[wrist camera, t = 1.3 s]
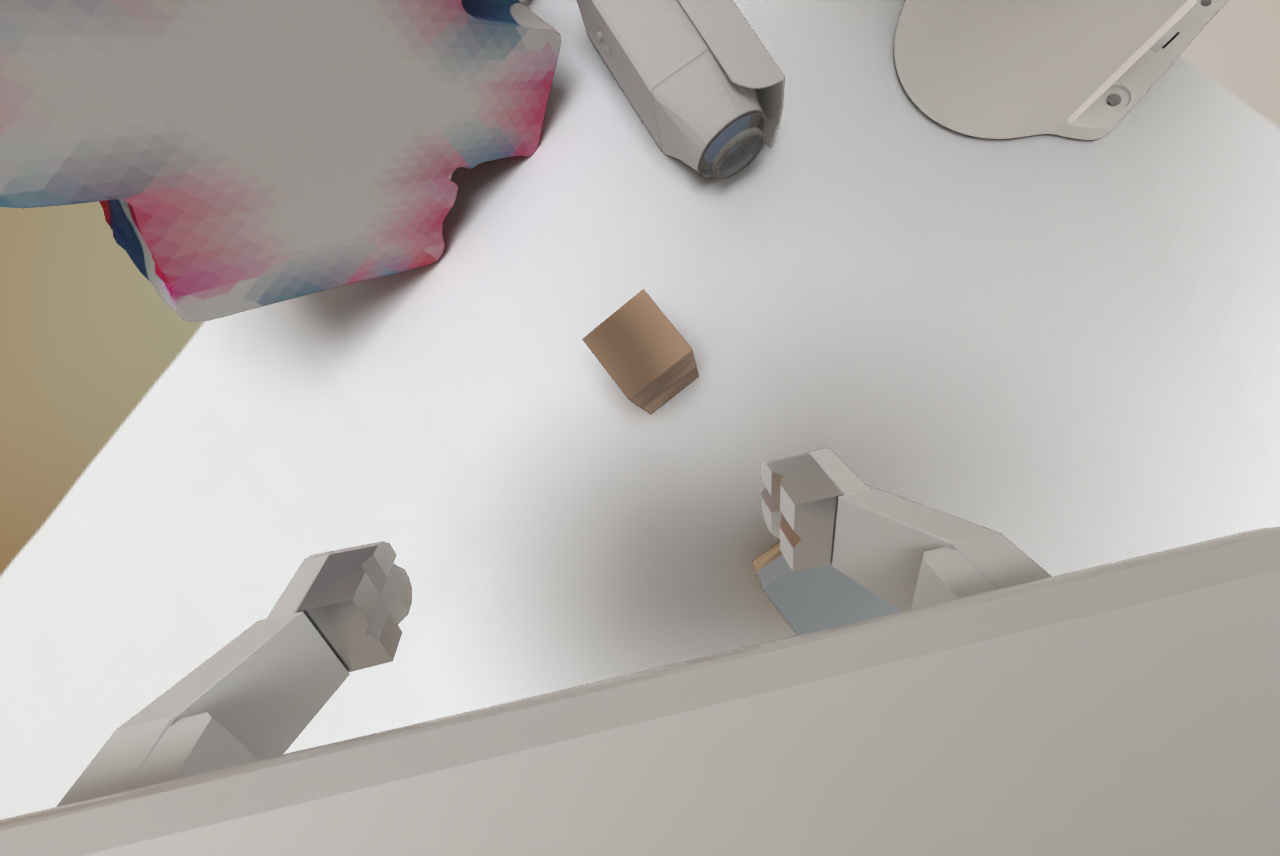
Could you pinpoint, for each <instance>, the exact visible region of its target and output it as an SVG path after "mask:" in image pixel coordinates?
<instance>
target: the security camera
mask: <svg viewBox="0 0 1280 856" xmlns="http://www.w3.org/2000/svg"><path fill="white" fill-rule="evenodd" d="M577 2H578V6H579V9H580V12H581V15H582V18H583V21H584V25H585V28H586V31H587V34H588V36H589V38H590V39H591V41H592V43H593V44H594V46H595V47H596V49H597V50H598V52H599V54H600V55H601V57H602V58H603V60H604V61H605V63H606V65H607V66H608V68H609V69H610V71H611V73H612V74H613V76H614V77H615V79H616V80H617V82H618V84H619V85H620V87H621V88H622V90H623V91H624V93H625V95H626V96H627V98H628V99H629V101H630V102H631V104H632V106H633V107H634V109H635V110H636V112H637V114H638V115H639V117H640V118H641V120H642V121H643V123H644V125H645V126H646V128H647V129H648V131H649V132H650V134H651V136H652V137H653V139H654V140H655V142H656V144H657V145H658V147H659V148H660V150H661V151H663V153H664V154H666V155H669V156H672V157H674V158H677V159H679V160H681V161H682V162H684V163H685V164H687V165H688V166H690V167H691V168H693V169H694V170H696V171H697V172H698V173H699V174H700V175H701V176H702V177H703V178H707V179H710V178H715V177H717V178H720V179H726V178H730V177H732V176H734V175H735V174H737V173H739V172H740V171H742V170H743V169H744V168H746V167H747V166H748V165H749V164H750V163H751V162H752V161H753V160H754V159H755V158H756V156H757V155H758V153H759V152H760V151H761V149H762V147H763V144H764V141H765V142H766V143H767V144H768V146H769V147H770V148H772V145H773V142H774V139H775V136H776V133H777V130H778V127H779V124H780V120H781V115H782V110H783V99H784V84H785V76H784V75H783V73H782V72H781V71H780V69H779V68H778V66H777V65H776V63H775V62H774V60H773V59H772V57H771V56H770V54H769V53H768V51H767V50H766V49H765V47H764V46H763V44H762V43H761V41H760V40H759V38H758V37H757V35H756V34H755V32H754V31H753V29H752V28H751V26H750V25H749V24H748V22H747V21H746V19H745V18H744V16H743V15H742V13H741V12H740V10H739V9H738V7H737V6H736V4H735V3H734V2H733V0H577Z"/></svg>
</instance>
